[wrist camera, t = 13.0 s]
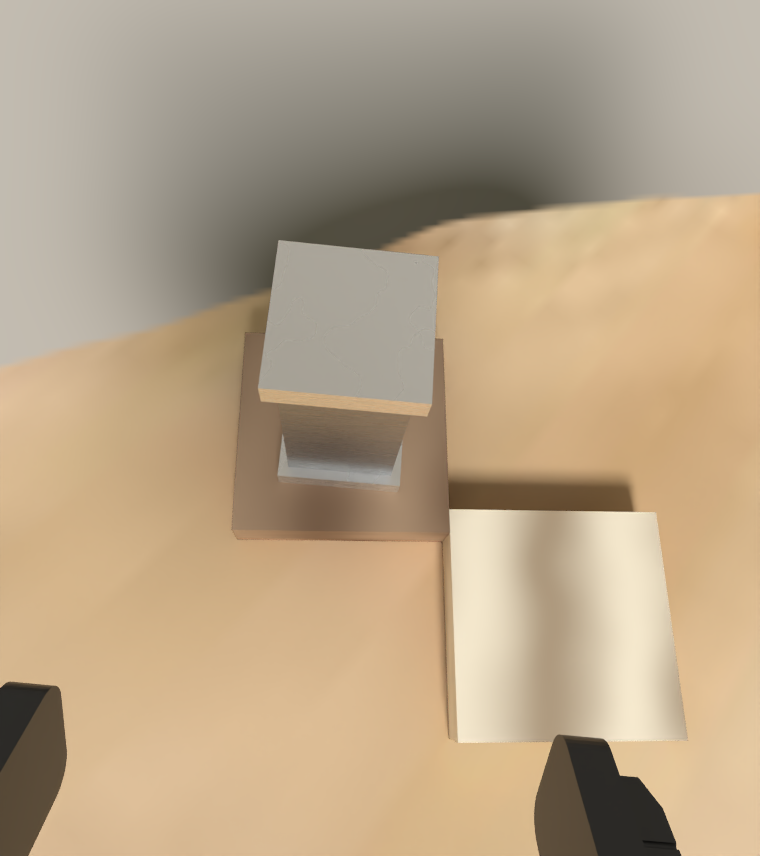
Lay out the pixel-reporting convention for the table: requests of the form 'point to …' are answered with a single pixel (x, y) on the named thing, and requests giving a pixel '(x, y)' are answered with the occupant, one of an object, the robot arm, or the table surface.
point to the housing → (348, 360)
